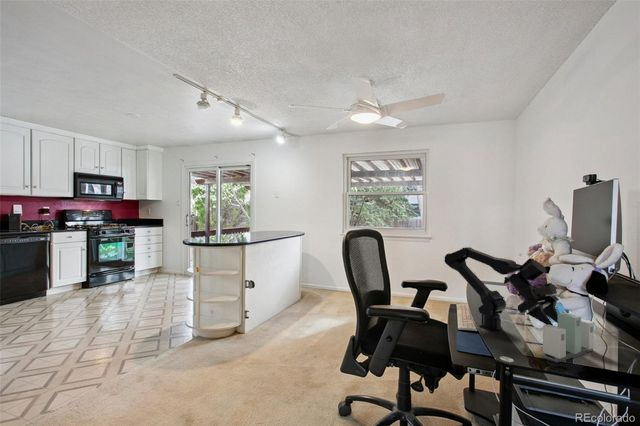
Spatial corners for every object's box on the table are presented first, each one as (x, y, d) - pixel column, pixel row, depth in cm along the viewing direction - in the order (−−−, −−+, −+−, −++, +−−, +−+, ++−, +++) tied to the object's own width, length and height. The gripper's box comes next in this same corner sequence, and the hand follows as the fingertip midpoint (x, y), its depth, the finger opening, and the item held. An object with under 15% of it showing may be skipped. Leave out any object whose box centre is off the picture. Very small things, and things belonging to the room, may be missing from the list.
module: (557, 348, 106) (557, 313, 106) (563, 346, 108) (563, 312, 108) (575, 354, 101) (575, 318, 102) (581, 351, 104) (581, 316, 104)
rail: (543, 357, 102) (543, 353, 102) (579, 346, 111) (579, 342, 111) (557, 362, 98) (557, 358, 98) (593, 350, 108) (593, 346, 108)
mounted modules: (542, 352, 102) (542, 325, 102) (577, 342, 112) (577, 317, 112) (559, 358, 98) (559, 330, 98) (594, 347, 107) (594, 322, 107)
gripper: (527, 277, 109) (562, 317, 99) (553, 274, 118) (588, 310, 108) (504, 294, 115) (535, 333, 106) (530, 289, 124) (561, 325, 115)
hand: (556, 325), depth 108 cm, fingers open, 6 cm apart
